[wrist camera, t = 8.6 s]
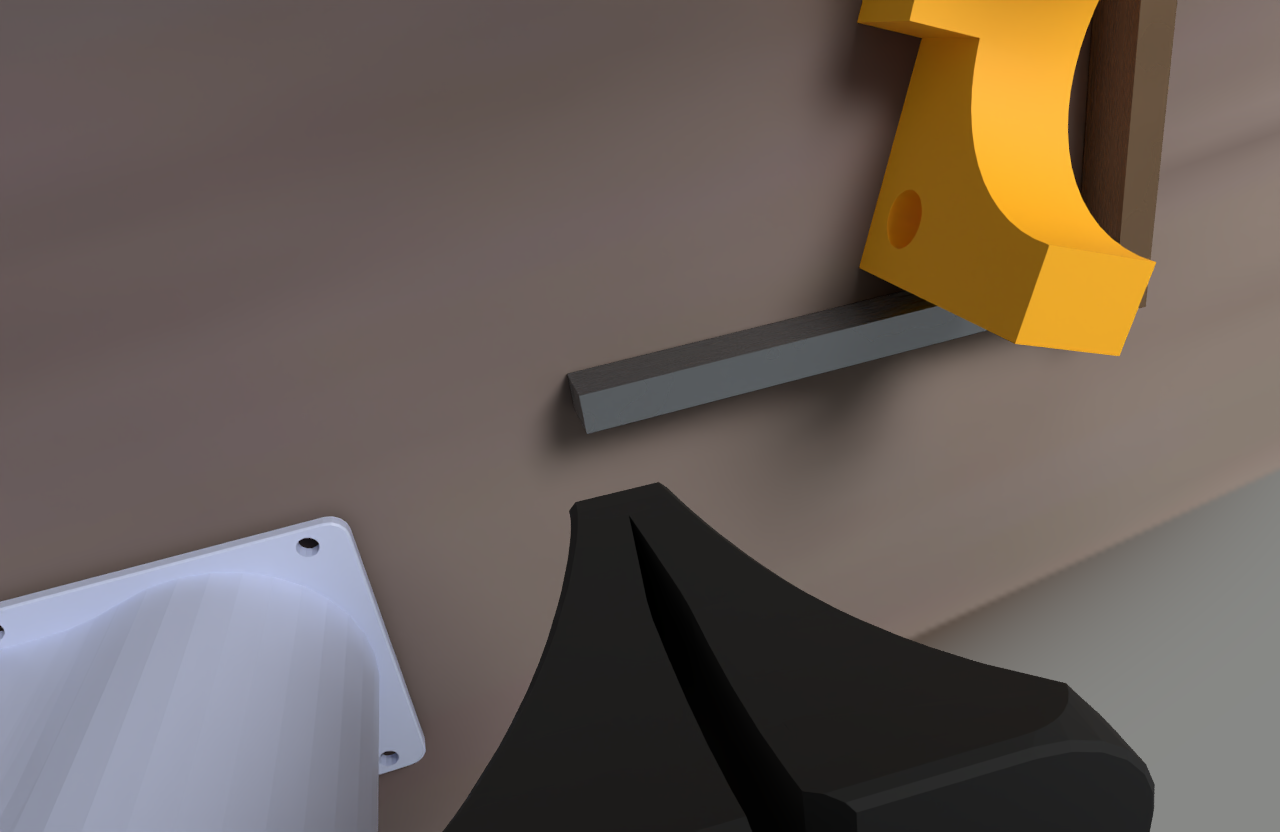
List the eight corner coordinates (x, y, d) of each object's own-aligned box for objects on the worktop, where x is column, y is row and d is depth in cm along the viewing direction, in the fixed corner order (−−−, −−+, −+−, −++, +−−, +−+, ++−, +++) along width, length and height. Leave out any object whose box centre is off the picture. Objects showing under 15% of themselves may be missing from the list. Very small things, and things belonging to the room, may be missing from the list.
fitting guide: (578, 427, 22) (590, 452, 21) (395, -458, 15) (396, -506, 13) (1104, 292, 25) (1145, 306, 23) (1170, -515, 17) (1235, -561, 16)
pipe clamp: (937, -316, 18) (1195, -483, 12) (1103, -252, 19) (1406, -375, 14) (795, 257, 22) (938, 335, 16) (940, 278, 23) (1119, 355, 18)
